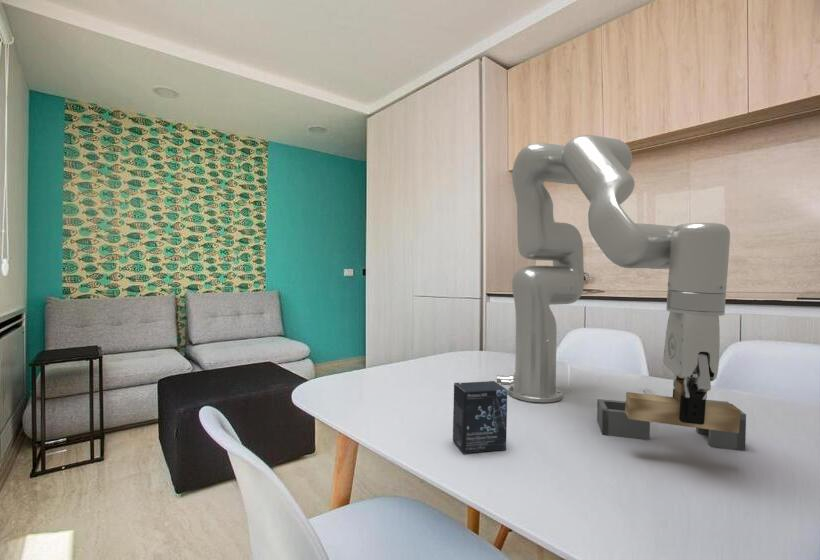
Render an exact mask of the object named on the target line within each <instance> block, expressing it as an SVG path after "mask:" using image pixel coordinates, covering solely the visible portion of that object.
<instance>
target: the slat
mask: <svg viewBox="0 0 820 560" xmlns="http://www.w3.org/2000/svg"><path fill="white" fill-rule="evenodd" d="M692 384H696V382H690V387H691V385H692ZM683 392H684V380H678V379H675V389H674V397H673V396H664V395H657V394H654V395H649V394H646V393H639V392H637V393H636V392H629V391H626V394H625V401H626V406H625V413H626V415H627V417H628V419H633V420H640V421H648V422H650V423H657V424H664V425H673V426H679V427H681V426H682V427H687V428H695V429H696V428H703V429H710V430H718V431H726V432H734V433H739V426H740V413H741V411H742V410H741V409H740V408H738V407H737V406H736V405H734V404H733V403H730V402H729V403H730V404H729V403H720V402H712V401H706V406H705V420H704V424H703V425H700V424H691V423H683V422H681V421H680V419H679V415H680V400H681V396H684V394H683Z"/></svg>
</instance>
